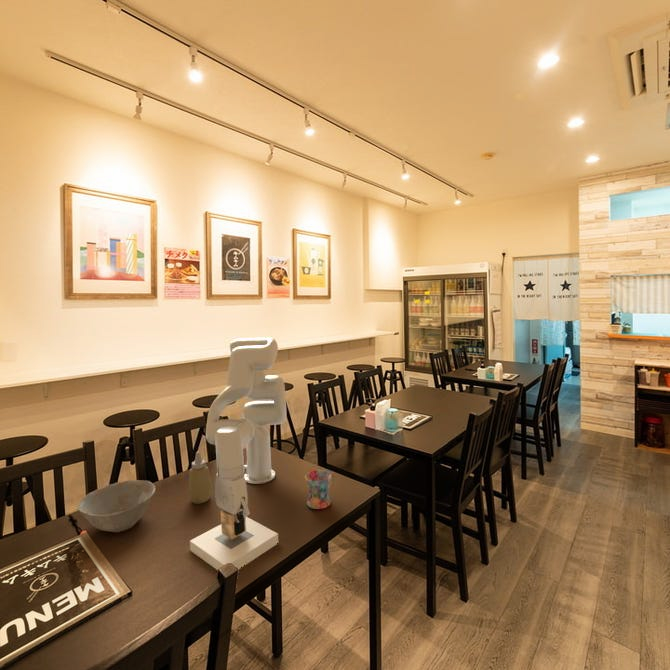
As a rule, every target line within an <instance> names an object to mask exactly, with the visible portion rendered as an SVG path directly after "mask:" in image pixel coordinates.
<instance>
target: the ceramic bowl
mask: <svg viewBox="0 0 670 670" xmlns="http://www.w3.org/2000/svg"><path fill="white" fill-rule="evenodd" d="M155 491H156V485H155V484H154V483H152V482H151V481H150V480H144V479H143V480H139V479H138V480H137V479H132V480H131V479H130V480H124V481H118V482H114V483H111V484H109V485H105V486H104V487H103V486H102V487H100V488H97V489H94V491H91V492H88V493H87V494H86V495H85V496H84V497H82V499H80V501H78V504H77V510H78V511H79V513H80V514H81V515H82V516H83V517H84V518H85V520H87V522H88V523H89V524H90V525H92V526H93V527H94V528H95V529H97V530H100V531H103V532H110V533H122V532H124V531H127V530H129V529H131V528H133V527H134V526H135V525H136V524H137V522H139V520H140V519H141V518H142V517H143V516H144V513H145V511H146V510H147V508H148V506H149V503H150V502H151V499H152V498H153V496H154V494H155ZM121 531H122V532H121Z"/></svg>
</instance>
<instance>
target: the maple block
mask: <svg viewBox="0 0 670 670" xmlns="http://www.w3.org/2000/svg"><path fill="white" fill-rule="evenodd" d="M240 515H241V512H239V513H238V517H239V516H240ZM244 521H245V531H244V532H246V518H245V519H244ZM234 522H236V521H235V517H234V514H231V513H229V512H227V511H225V510H223V509H222V510H221V509H220V524H221V528H222V534H224V535H226V536H227V537H229V538H230V539H234V538H236V537H237V536H239V535H241V534H242V533H244V532H242V533H241V534H239V535H237V536H236V535H235V530H234Z"/></svg>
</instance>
